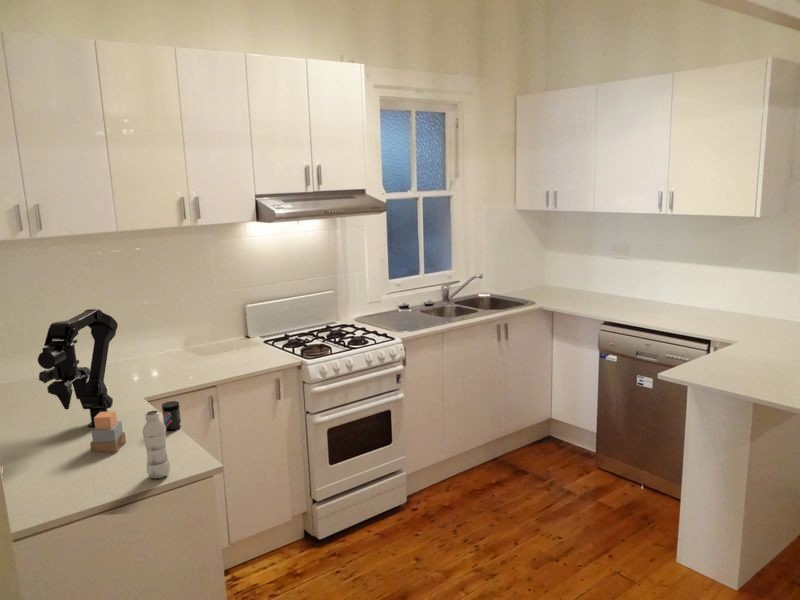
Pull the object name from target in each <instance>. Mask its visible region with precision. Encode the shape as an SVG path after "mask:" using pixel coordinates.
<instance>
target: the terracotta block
mask: <svg viewBox="0 0 800 600" xmlns="http://www.w3.org/2000/svg"><path fill="white" fill-rule="evenodd" d="M94 422H95V427H94V428H95V429H111V428H112V427H113V426H114V425H115V424H116V423H117V422H118V418H117V411H115V410H114V411H113V410H112V411H108V412H100V413H99V414H97V415H96V416H95V417H94Z"/></svg>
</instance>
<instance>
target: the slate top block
mask: <svg viewBox="0 0 800 600" xmlns="http://www.w3.org/2000/svg"><path fill="white" fill-rule="evenodd" d="M123 432H124V431H123V424H122V421H121V420H120V421H119V420H117V423H116V424H115V425H114V426H113V427H112V428H111V429H95V427H94V428H93V429H92V430H91V437H92V439H91V440H92V441H93V443H98V442H114V441H116V440H117V439H118V438H119V437H120V435H121V434H122V433H123Z"/></svg>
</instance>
